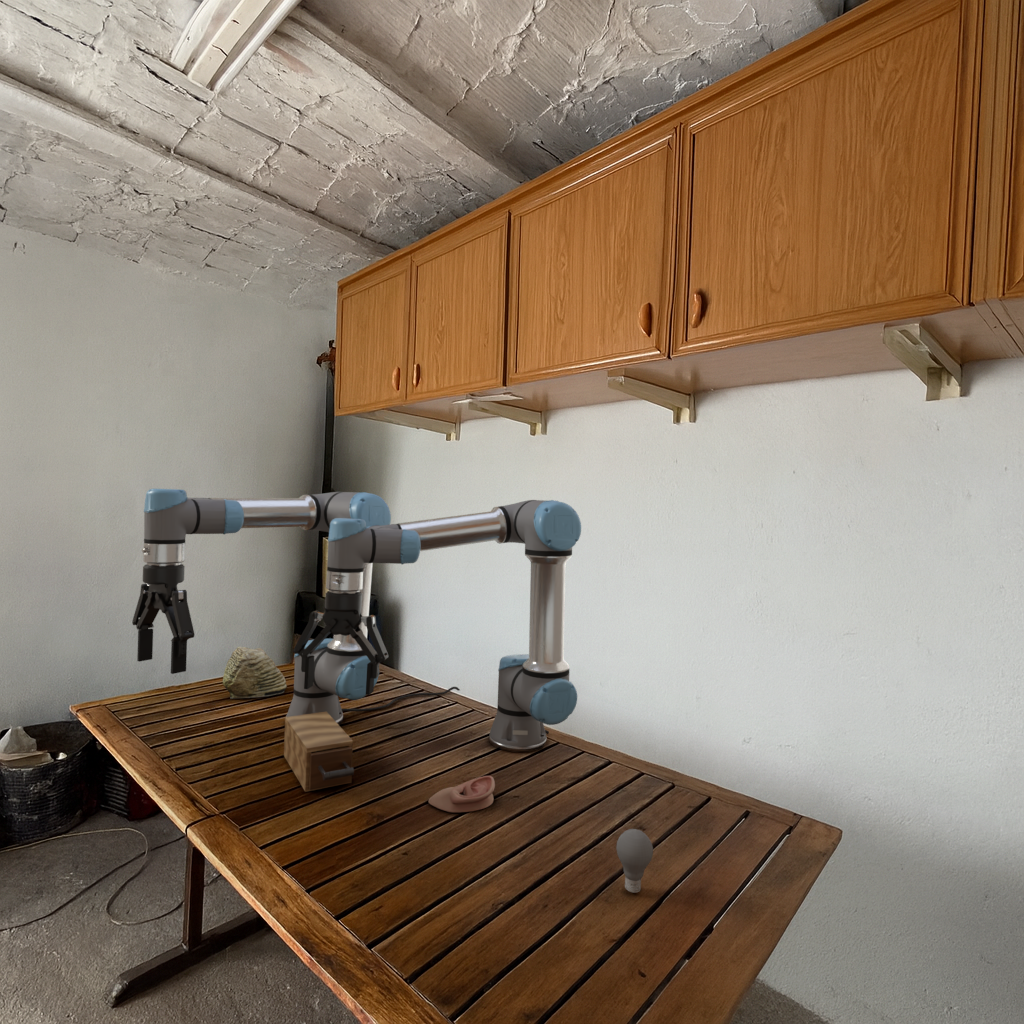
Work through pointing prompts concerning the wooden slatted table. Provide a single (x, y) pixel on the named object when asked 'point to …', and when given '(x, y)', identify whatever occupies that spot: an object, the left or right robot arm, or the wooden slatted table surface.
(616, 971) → the wooden slatted table surface
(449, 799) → the anatomical model
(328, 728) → the cabinet
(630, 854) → the light bulb
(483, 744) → the wooden slatted table surface
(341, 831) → the wooden slatted table surface
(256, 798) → the wooden slatted table surface
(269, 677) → the fossil
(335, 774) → the drawer
